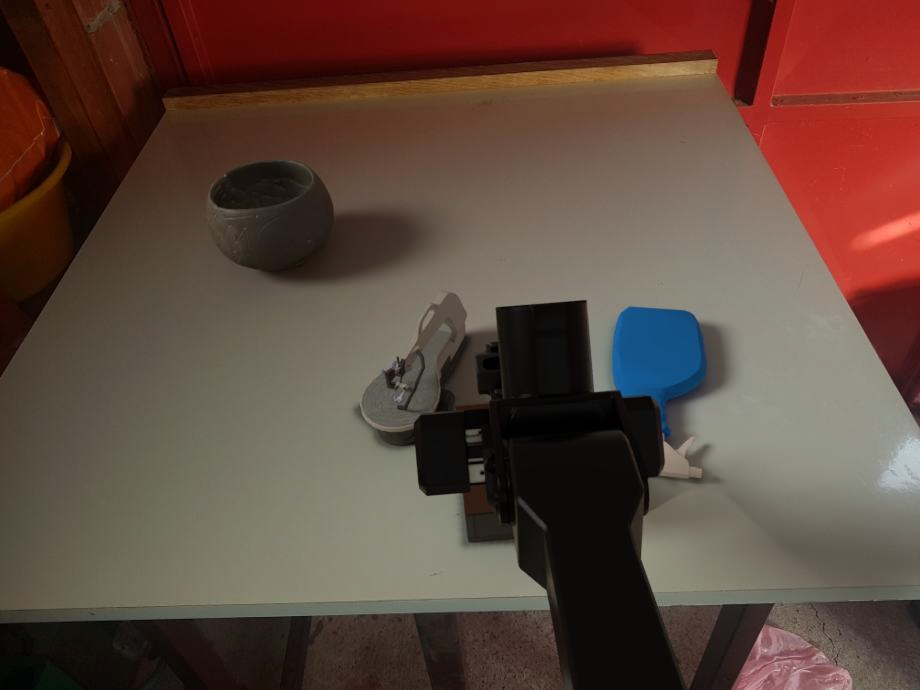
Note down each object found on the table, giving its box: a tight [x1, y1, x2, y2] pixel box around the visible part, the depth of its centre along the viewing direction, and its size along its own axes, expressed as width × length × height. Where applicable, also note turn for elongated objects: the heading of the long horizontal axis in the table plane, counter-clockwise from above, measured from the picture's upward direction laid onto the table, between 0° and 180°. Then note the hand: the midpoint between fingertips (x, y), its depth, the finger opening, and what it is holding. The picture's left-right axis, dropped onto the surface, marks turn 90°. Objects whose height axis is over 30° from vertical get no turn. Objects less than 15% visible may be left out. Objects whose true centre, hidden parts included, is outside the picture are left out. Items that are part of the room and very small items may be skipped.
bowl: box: [205, 158, 335, 272], centre depth 102 cm, size 18×18×13 cm
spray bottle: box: [611, 305, 707, 479], centre depth 80 cm, size 3×11×24 cm
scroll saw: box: [358, 290, 468, 447], centre depth 80 cm, size 20×11×12 cm
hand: (528, 432), depth 62 cm, fingers closed on lid, 5 cm apart
